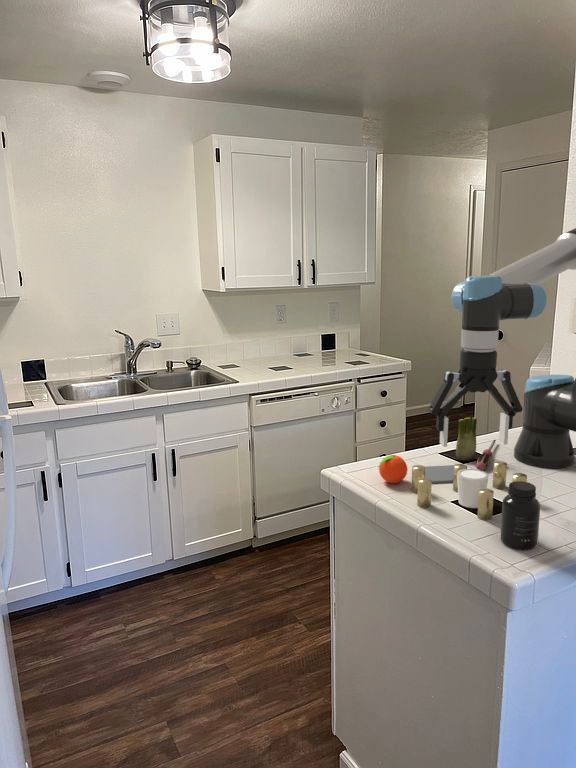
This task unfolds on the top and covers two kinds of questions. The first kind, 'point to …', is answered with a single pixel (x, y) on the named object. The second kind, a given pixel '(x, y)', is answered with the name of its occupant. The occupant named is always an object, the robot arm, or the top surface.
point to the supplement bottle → (520, 516)
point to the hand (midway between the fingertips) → (473, 443)
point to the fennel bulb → (466, 439)
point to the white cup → (470, 486)
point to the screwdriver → (485, 458)
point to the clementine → (393, 469)
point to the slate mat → (440, 473)
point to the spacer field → (485, 495)
